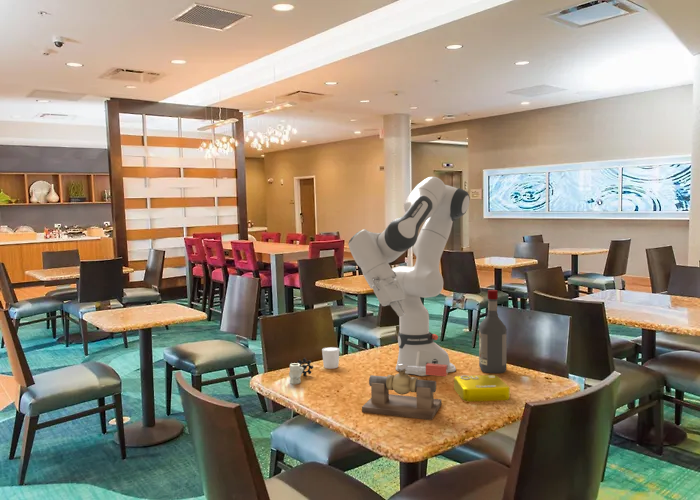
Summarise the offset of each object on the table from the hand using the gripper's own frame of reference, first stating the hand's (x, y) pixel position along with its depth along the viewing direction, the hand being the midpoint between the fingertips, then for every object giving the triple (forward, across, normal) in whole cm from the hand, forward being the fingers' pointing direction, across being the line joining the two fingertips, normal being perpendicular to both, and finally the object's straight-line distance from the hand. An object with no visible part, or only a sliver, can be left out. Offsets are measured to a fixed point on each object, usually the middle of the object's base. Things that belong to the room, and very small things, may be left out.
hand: (402, 315), depth 173 cm
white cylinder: (+2, +34, +43) cm, 55 cm away
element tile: (+34, +16, -6) cm, 38 cm away
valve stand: (+24, -4, +13) cm, 28 cm away
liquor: (+32, +46, -9) cm, 57 cm away
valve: (+1, +15, +48) cm, 51 cm away
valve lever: (+18, -6, +2) cm, 19 cm away
